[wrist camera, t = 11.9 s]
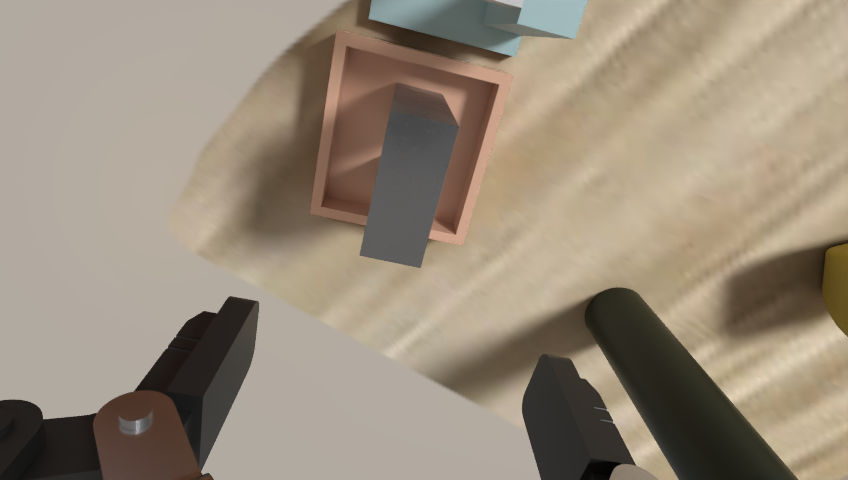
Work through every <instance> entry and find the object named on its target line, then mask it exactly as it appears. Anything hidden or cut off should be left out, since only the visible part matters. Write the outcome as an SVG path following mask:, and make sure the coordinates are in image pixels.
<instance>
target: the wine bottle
mask: <svg viewBox="0 0 848 480" xmlns="http://www.w3.org/2000/svg"><path fill="white" fill-rule="evenodd" d="M585 321H586V325H587V327H588V328H589V330H590V332H591V333H592V335H593V337H594V338H595V340H596V342H597V343H598V345H599V347H600V349H601V350H602V352H603V354H604V355H605V357H606V359H607V360H608V362H609V364H610V365H611V367H612V369H613V370H614V372H615V374H616V375H617V377H618V379H619V380H620V382H621V384H622V385H623V387H624V389H625V390H626V392H627V394H628V395H629V397H630V399H631V400H632V402H633V404H634V405H635V407H636V409H637V410H638V412H639V414H640V415H641V417H642V419H643V420H644V422H645V424H646V425H647V427H648V429H649V430H650V432H651V434H652V435H653V437H654V439H655V440H656V442H657V444H658V446H659V447H660V449H661V451H662V452H663V454H664V456H665V457H666V459H667V461H668V462H669V464H670V466H671V467H672V469H673V471H674V472H675V474H676V476H677V477H678V479H679V480H798V479H797V478H796V476H795V475H794V474H793V473H792V472H791V471H790V469H789V468H788V467H787V466H786V465H785V464H784V462H783V461H782V460H781V459H780V458H779V457H778V455H777V454H776V453H775V452H774V451H773V450H772V449H771V447H770V446H769V445H768V444H767V443H766V442H765V440H764V439H763V438H762V437H761V436H760V435H759V433H758V432H757V431H756V430H755V429H754V428H753V426H752V425H751V424H750V423H749V422H748V421H747V420H746V418H745V417H744V416H743V415H742V414H741V413H740V411H739V410H738V409H737V408H736V407H735V406H734V404H733V403H732V402H731V401H730V400H729V399H728V397H727V396H726V395H725V394H724V393H723V392H722V391H721V389H720V388H719V387H718V386H717V385H716V384H715V382H714V381H713V380H712V379H711V378H710V377H709V375H708V374H707V373H706V372H705V371H704V370H703V368H702V367H701V366H700V365H699V364H698V363H697V362H696V360H695V359H694V358H693V357H692V356H691V355H690V353H689V352H688V351H687V350H686V349H685V348H684V346H683V345H682V344H681V343H680V342H679V341H678V339H677V338H676V337H675V336H674V335H673V334H672V333H671V331H670V330H669V329H668V328H667V327H666V326H665V324H664V323H663V322H662V321H661V320H660V319H659V317H658V316H657V315H656V314H655V313H654V312H653V310H652V309H651V308H650V307H649V306H648V305H647V304H646V302H645V301H644V300H643V299H642V298H641V297H640V295H639V294H637V293H636V292H635V291H633V290H630V289H627V288H613V289H609V290H606V291H604V292H602V293H600V294H599V295H597V296H596V297H595V298H594V299H593V300H592V301H591V302H590V304H589V305H588V307H587V310H586V314H585Z"/></svg>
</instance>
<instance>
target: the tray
mask: <svg viewBox="0 0 848 480" xmlns="http://www.w3.org/2000/svg"><path fill="white" fill-rule="evenodd" d="M512 80H513V75H511V74H509V73H507V72H504V71H500V70H496V69H492V68H488V67H485V66H481V65H477V64H473V63H469V62H465V61H461V60H457V59H453V58H449V57H445V56H442V55H438V54H434V53H430V52H426V51H422V50H418V49H414V48H410V47H406V46H403V45H399V44H395V43H391V42H387V41H383V40H379V39H375V38H371V37H367V36H364V35H360V34H356V33H352V32H348V31H344V30H336V37H335V43H334V50H333V57H332V64H331V71H330V77H329V84H328V91H327V98H326V105H325V111H324V118H323V125H322V132H321V139H320V145H319V152H318V159H317V166H316V173H315V179H314V186H313V193H312V200H311V207H310V213H309V214H312V215H317V216H322V217H327V218H331V219H336V220H341V221H346V222H351V223H356V224H361V225H366V223H367V218H368V213H369V209H370V204H371V199H372V195H373V190H374V185H375V180H376V176H377V171H378V166H379V162H380V157H381V152H382V148H383V143H384V138H385V133H386V129H387V124H388V119H389V115H390V110H391V105H392V101H393V96H394V92H395V87H396V83H397V82H398V83H402V84H406V85H410V86H414V87H417V88H421V89H425V90H429V91H433V92H437V93H441V94H443V96H444V98H445V100H446V102H447V104H448V106H449V108H450V110H451V112H452V114H453V115H454V117H455V119H456V121H457V123H458V125H459V130H458V133H457V137H456V140H455V144H454V148H453V151H452V155H451V159H450V162H449V166H448V169H447V173H446V177H445V180H444V184H443V188H442V191H441V195H440V199H439V202H438V206H437V209H436V213H435V217H434V220H433V224H432V228H431V231H430V235H429V239H434V240H439V241H443V242H448V243H453V244H458V245H463V243H464V240H465V236H466V233H467V230H468V226H469V223H470V220H471V216H472V213H473V210H474V206H475V203H476V200H477V196H478V193H479V190H480V186H481V183H482V180H483V176H484V173H485V170H486V166H487V163H488V160H489V156H490V153H491V150H492V146H493V143H494V140H495V136H496V133H497V130H498V126H499V123H500V120H501V116H502V113H503V110H504V106H505V103H506V100H507V96H508V93H509V90H510V86H511V83H512Z"/></svg>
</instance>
